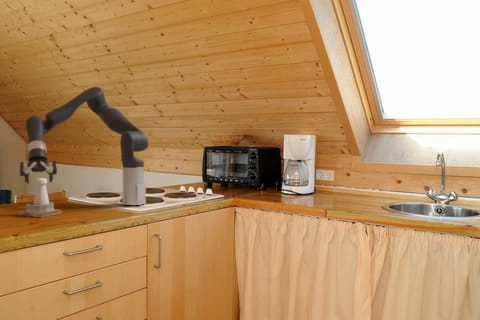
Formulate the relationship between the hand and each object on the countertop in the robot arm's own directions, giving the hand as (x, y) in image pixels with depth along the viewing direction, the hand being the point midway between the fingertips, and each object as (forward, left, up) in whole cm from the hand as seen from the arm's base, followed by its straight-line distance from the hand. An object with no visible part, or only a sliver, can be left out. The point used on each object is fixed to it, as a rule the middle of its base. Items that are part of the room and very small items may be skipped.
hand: (39, 181), depth 169 cm
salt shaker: (-9, +7, -10) cm, 15 cm away
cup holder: (-9, +8, -11) cm, 17 cm away
